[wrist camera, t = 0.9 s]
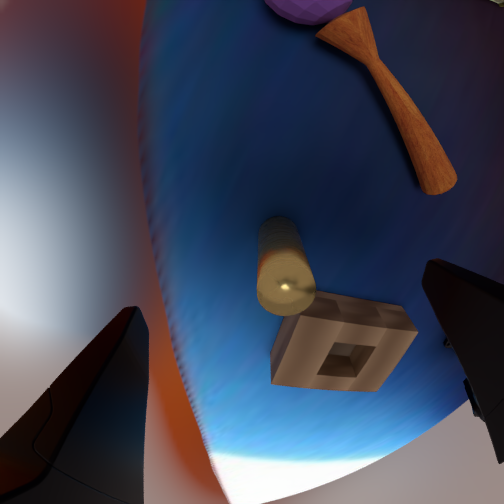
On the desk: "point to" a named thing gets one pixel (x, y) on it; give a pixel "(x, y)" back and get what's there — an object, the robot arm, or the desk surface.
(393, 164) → the desk surface
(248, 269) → the desk surface
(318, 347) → the bore block
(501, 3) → the hardcover book
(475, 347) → the robot arm
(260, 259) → the brass pin
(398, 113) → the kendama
